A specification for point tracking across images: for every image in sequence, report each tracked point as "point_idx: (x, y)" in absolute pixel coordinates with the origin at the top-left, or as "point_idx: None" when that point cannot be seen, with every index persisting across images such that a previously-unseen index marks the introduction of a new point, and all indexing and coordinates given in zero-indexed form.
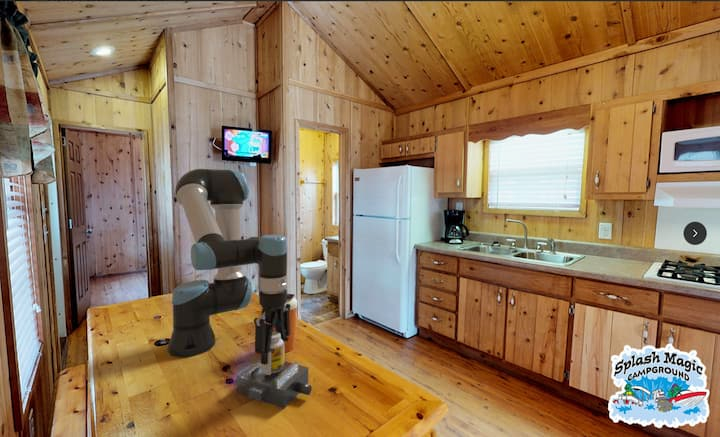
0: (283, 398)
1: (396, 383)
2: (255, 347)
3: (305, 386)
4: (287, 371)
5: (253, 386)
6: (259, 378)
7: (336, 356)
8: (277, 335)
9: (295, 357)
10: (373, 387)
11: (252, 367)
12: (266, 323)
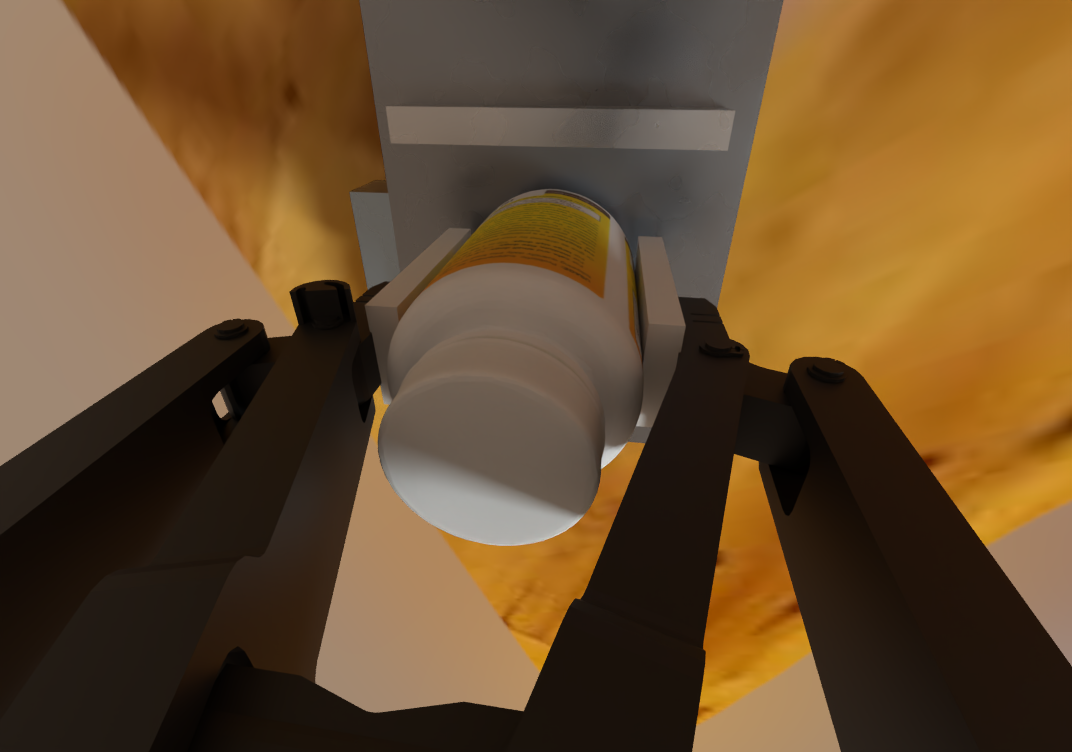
0: None
1: (770, 664)
2: (172, 362)
3: None
4: None
5: (385, 202)
6: (436, 214)
7: (1030, 428)
8: (498, 522)
9: (1023, 143)
10: (722, 611)
11: (534, 25)
12: (212, 648)
